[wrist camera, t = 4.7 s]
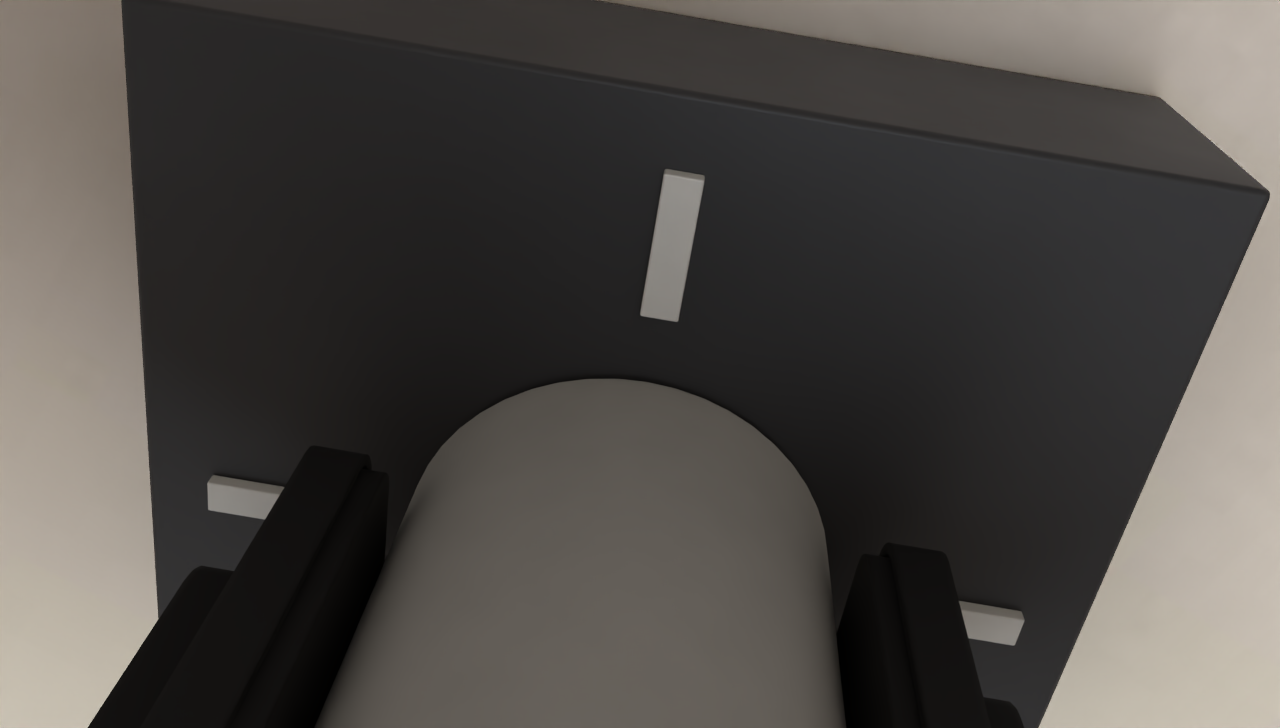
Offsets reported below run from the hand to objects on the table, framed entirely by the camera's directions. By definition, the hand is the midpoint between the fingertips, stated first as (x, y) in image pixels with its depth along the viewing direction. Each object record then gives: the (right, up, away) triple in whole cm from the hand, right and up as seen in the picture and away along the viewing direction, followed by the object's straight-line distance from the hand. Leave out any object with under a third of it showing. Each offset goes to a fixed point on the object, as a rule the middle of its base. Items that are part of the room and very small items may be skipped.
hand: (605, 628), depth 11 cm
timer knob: (0, +1, +1) cm, 1 cm away
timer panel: (0, +2, +4) cm, 4 cm away
